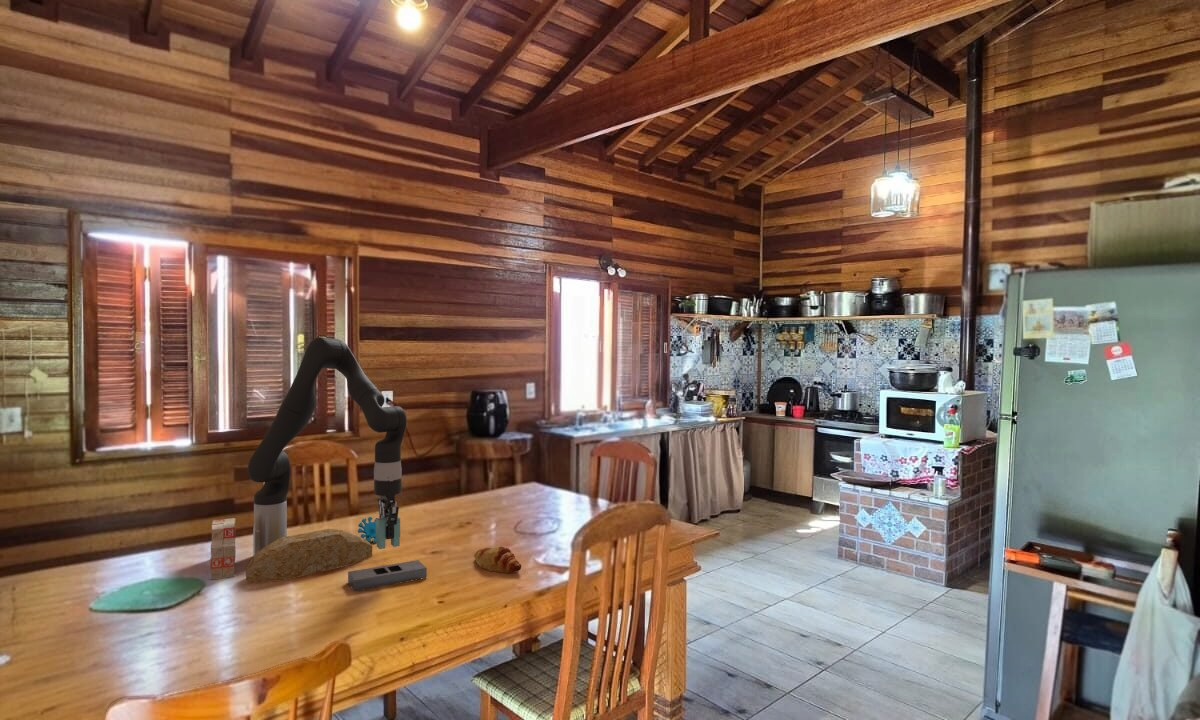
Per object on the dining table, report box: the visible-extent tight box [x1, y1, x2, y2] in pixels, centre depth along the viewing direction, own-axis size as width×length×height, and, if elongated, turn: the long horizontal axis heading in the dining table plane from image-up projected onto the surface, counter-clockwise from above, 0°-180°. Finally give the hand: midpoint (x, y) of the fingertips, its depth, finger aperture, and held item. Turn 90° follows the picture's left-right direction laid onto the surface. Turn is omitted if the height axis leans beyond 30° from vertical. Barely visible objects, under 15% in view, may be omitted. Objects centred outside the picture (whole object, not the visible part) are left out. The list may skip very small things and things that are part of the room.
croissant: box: [473, 545, 522, 574], centre depth 203 cm, size 21×10×8 cm, turn 49°
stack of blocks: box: [209, 517, 237, 581], centre depth 200 cm, size 21×6×12 cm, turn 28°
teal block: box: [375, 516, 401, 550], centre depth 190 cm, size 6×3×8 cm, turn 122°
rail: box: [347, 559, 428, 592], centre depth 190 cm, size 20×8×3 cm, turn 122°
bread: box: [245, 528, 373, 584], centre depth 201 cm, size 36×11×10 cm, turn 134°
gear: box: [357, 516, 377, 544], centre depth 229 cm, size 11×6×10 cm
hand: (388, 536), depth 190 cm, fingers closed on teal block, 3 cm apart
